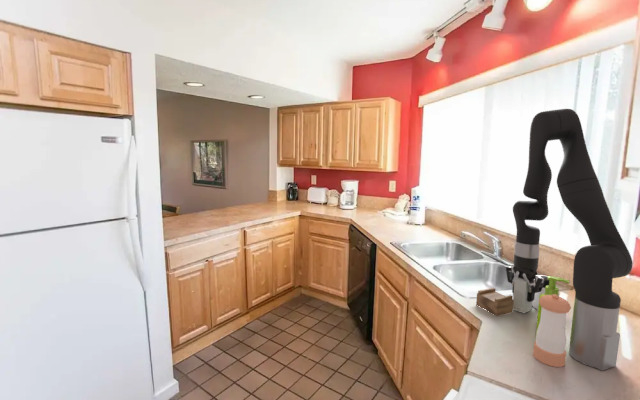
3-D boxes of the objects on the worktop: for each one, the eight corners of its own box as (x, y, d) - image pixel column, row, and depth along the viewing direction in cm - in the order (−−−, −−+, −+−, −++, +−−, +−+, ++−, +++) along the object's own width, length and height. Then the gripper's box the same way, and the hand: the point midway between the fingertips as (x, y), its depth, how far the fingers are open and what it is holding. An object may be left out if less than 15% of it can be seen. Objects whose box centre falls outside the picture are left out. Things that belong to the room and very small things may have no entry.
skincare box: (524, 313, 111) (527, 282, 109) (511, 308, 114) (514, 278, 113) (532, 309, 114) (535, 278, 112) (519, 304, 118) (521, 274, 116)
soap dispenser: (563, 345, 92) (570, 283, 89) (535, 337, 96) (541, 277, 93) (562, 337, 97) (569, 277, 94) (536, 329, 101) (541, 272, 98)
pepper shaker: (534, 347, 91) (540, 287, 89) (565, 357, 87) (572, 294, 84) (531, 359, 86) (538, 295, 83) (564, 370, 81) (572, 303, 78)
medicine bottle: (558, 311, 113) (561, 280, 112) (538, 311, 113) (541, 280, 112) (544, 302, 120) (547, 273, 119) (526, 302, 120) (528, 273, 119)
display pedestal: (512, 312, 112) (513, 296, 111) (496, 316, 109) (497, 300, 109) (491, 302, 120) (492, 287, 120) (476, 305, 118) (477, 290, 117)
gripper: (553, 259, 106) (549, 305, 108) (515, 248, 119) (512, 289, 121) (539, 261, 103) (534, 308, 106) (501, 250, 117) (498, 292, 119)
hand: (522, 297), depth 114 cm, fingers closed on skincare box, 5 cm apart
